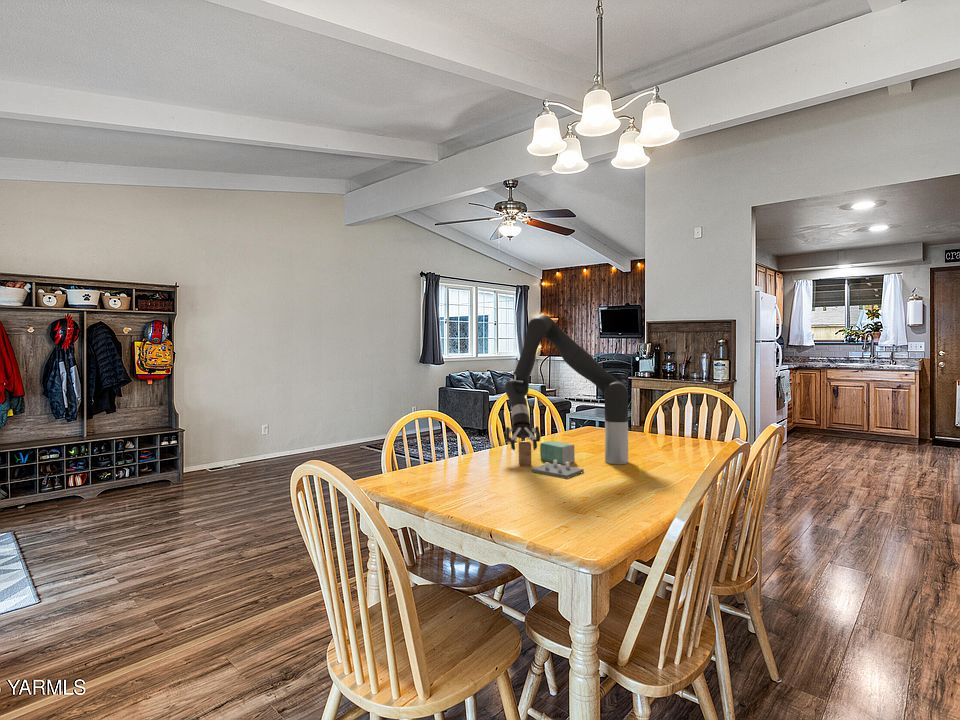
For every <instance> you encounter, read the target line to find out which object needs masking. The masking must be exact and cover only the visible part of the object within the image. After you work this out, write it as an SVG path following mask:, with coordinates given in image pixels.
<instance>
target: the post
mask: <svg viewBox="0 0 960 720" xmlns="http://www.w3.org/2000/svg"><path fill="white" fill-rule="evenodd" d="M518 465H519V466H520V467H528V466H527V465H531V466H532V443H531V442H530V441H518Z"/></svg>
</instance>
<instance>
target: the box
mask: <svg viewBox="0 0 960 720" xmlns="http://www.w3.org/2000/svg"><path fill="white" fill-rule="evenodd" d="M539 447H540V448H539V449H540V451H539V452H540V459H541V460H542V459H543V461H546V460H547V461H546V462H550V461H551V463H553V460H557V464H558V465H559V464H560V465H566V462H570V464H572V463H571V462H573V463H575V461H576V460H575V459H576V457H575V444H572V443H568V442H567V443H566V442H561V441H555V440H550V441H548V440H547V441H542V442H540V445H539Z"/></svg>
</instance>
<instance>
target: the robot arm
mask: <svg viewBox="0 0 960 720" xmlns="http://www.w3.org/2000/svg"><path fill="white" fill-rule="evenodd" d="M544 338H545V339H547V340H548V341H549V342H551V344H552V345H554V346H555V348H556V350H557V351H558V353H559V354H560V357H561V358H562V360H563V361H564V362H565V364H567V366H569V367H570V368H571V369H573V370H574V372H576V373H577V374H578V375H580V376H582V377H583V378H584V379H586V380H588V381H590V382H591V383H592V384H594V385H595V386H596V387H597V388H598V389H599V391H600V392H602V394H604V462H605V463H606V462H607V463H606V464H611V465H626V464H628V463H629V390H628V387H627V386H626V385H625V384H624V383H623V382H622V381H620V380H619V379H617V378H616V377H615V376H613V375H611V374H610V373H609V372H608V371H606V370H605V369H604V368H603V366H602V365H600V363H599V362H598V361H597V360H596V359H595V358H594V357H593V356H592V355H591V354H590V353H589V352H588V351H586V350H585V349H584V348H583V347H582V346H581V345H579V344H578V343H577V342H576V341H575V340H574V339H573V338H571V337H570V336H569V335H568V334H567V333H566V332H564V331H563V330H562V328H560V326H559V325H557V322H555V321H554V319H553V318H551V317H550V316H549V315H547V314H538V315H536V316H534V317H533V318H531V319H530V320H529V322H528V324H527V328H526V333H525V338H524V339H525V340H524V343H523V347H522V351H521V353H520V357H519V360H518V361H517V364H516V367H515V371H514V375H515V377H516V378H518V380H517V379H508V380H507V381H506V383H505V385H504V390H505V394H506V396H507V398H508V400H509V402H510V409H511V411H510V412H511V413H510V414H511V422H512V427H511V428H510V427H508V426H507V427H506V428H505V442H506V443H509V444H510V446H511V447H510V449H511V450H512V451H515V450H516V442H515V441H516V440H517V439H518V438H519V439H528V440H529V441H531V442H532V449H533V451H536V449H537V448H538V443H537V442H540V440H541V433H540V429H539V426H535V427H532V425H531V420H530V418H531V417H530V412H529V409H528V403H527V398H526V396H527V395H528V393H529V387H530V379H531V378H530V377H531V375H532V371H533V369H534V366H535V363H536V362H535V361H536V356H537V351H538V348H539V345H540V344H541V342H542V341H543V340H544ZM511 433H513V435H512V436H511V437H510V434H511ZM534 434H535V435H534Z"/></svg>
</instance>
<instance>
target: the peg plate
mask: <svg viewBox="0 0 960 720" xmlns="http://www.w3.org/2000/svg"><path fill="white" fill-rule="evenodd" d="M570 464H571V463H570V462H566V464H565V465H563V464H559V463H557V460H553V462H551V463H550V462H549V461H546V462H545V464H542V465H538V466H535V467H532V468H531V471H532V473H535V472H537V474H540V473H542V474H541V475H546V474H547V476H551V475H553V476H552V477H556V476H558V478H561V477H564V478H563V479H569V478H568V477H570V478H572V477H574V476H573V475H575V476H577V475H576V474H578V475H580V474H582V473H581V472H583V473H584V471H585V470H584V468H578V467H574V466H571V465H570ZM579 473H580V474H579ZM571 476H572V477H571Z"/></svg>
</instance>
